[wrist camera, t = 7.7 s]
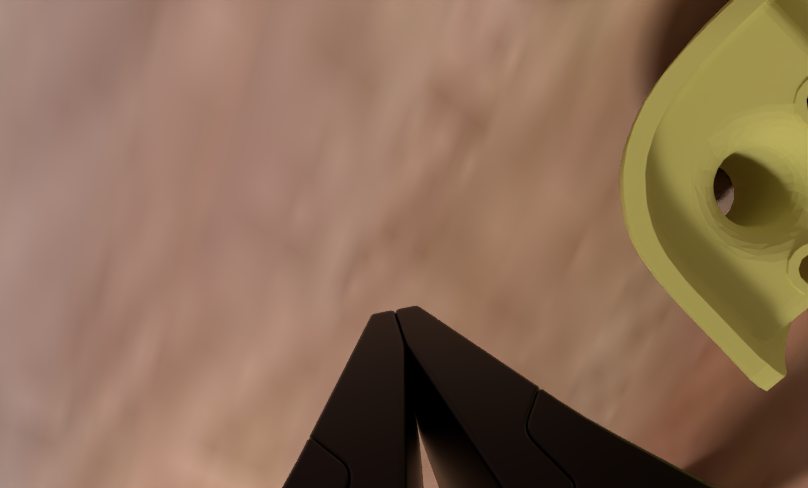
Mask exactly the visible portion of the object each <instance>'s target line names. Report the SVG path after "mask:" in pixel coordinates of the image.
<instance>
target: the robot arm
mask: <svg viewBox="0 0 808 488" xmlns="http://www.w3.org/2000/svg"><path fill="white" fill-rule="evenodd" d="M417 425H418V427H417ZM418 429H419V433H420V436H421V439H422V442H423V445H424V448H425V450H426V453H427V456H428V458H429V461H430V464H431V467H432V469H433V472H434V475H435V478H436V480H437V483H438V486H439V488H716V487H714V486H712V485H710V484H708V483H706V482H704V481H703V480H701V479H699V478H697V477H695V476H693V475H691V474H689V473H688V472H686V471H684V470H682V469H680V468H678V467H676V466H674V465H672V464H671V463H669V462H667V461H665V460H663V459H661V458H659V457H657V456H656V455H654V454H652V453H650V452H648V451H646V450H644V449H642V448H641V447H639V446H637V445H635V444H633V443H631V442H629V441H627V440H626V439H624V438H622V437H620V436H618V435H616V434H615V433H613V432H611V431H609V430H607V429H606V428H604V427H602V426H600V425H599V424H597V423H595V422H593V421H591V420H590V419H588V418H586V417H585V416H583V415H581V414H580V413H578V412H577V411H575V410H573V409H572V408H570V407H569V406H567V405H566V404H564V403H562V402H561V401H559V400H558V399H556V398H555V397H553V396H552V395H550V394H549V393H547V392H546V391H544V390H543V389H540V390H539V387H538V386H537V385H535V384H534V383H532V382H531V381H529V380H528V379H526V378H525V377H523V376H522V375H520V374H519V373H517V372H516V371H514V370H513V369H511V368H510V367H508V366H507V365H505V364H504V363H502V362H501V361H499V360H498V359H496V358H495V357H493V356H492V355H490V354H489V353H487V352H486V351H484V350H483V349H481V348H480V347H478V346H477V345H475V344H474V343H472V342H471V341H469V340H468V339H466V338H465V337H464V336H462V335H461V334H459V333H458V332H456V331H455V330H453V329H452V328H450V327H449V326H447V325H446V324H444V323H443V322H441V321H440V320H438V319H437V318H435V317H434V316H432V315H431V314H429V313H428V312H426V311H425V310H423V309H422V308H420V307H419V306H412V307H407V308H401V309H398V310H397V311H396V314H395V312H394V311H386V312H381V313H376V314H373V315H372V316H371V317H370V319H369V321H368V323H367V325H366V327H365V329H364V331H363V333H362V335H361V337H360V339H359V341H358V343H357V345H356V347H355V349H354V350H353V352H352V354H351V356H350V358H349V360H348V362H347V364H346V366H345V368H344V370H343V372H342V374H341V376H340V378H339V380H338V382H337V384H336V386H335V388H334V390H333V392H332V394H331V396H330V398H329V400H328V402H327V404H326V405H325V407H324V409H323V411H322V413H321V415H320V417H319V419H318V421H317V423H316V425H315V427H314V429H313V431H312V433H311V435H310V439H309V440H307V442H306V444H305V446H304V448H303V450H302V452H301V454H300V456H299V458H298V460H297V462H296V464H295V465H294V467H293V469H292V471H291V473H290V474H289V476H288V478H287V480H286V482H285V484H284V485H283V487H282V488H424V486H423V475H422V464H421V452H420V442H419V434H418Z"/></svg>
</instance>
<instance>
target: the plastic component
mask: <svg viewBox="0 0 808 488" xmlns="http://www.w3.org/2000/svg"><path fill="white" fill-rule="evenodd" d="M807 97H808V0H730V1H729V2H727V3H726V4H725V5H724V6H723V7H722V8H721V9H720V10H719V11H718V12H717V13H716V14H715V15H714V16H713V17H712V18H711V19H710V20H709V21H708V22H707V23H706V24H705V25H704V26H703V27H702V28H701V29H700V30H699V31H698V33H697V34H696V35H695V36H694V37H693V38H692V39H691V40H690V42H689V43H688V44H687V45H686V46H685V48H684V49H683V50H682V51H681V52H680V53H679V55H678V56H677V57H676V58H675V59H674V61H673V62H672V63H671V64H670V65H669V67H668V68H667V69H666V70H665V72H664V73H663V74H662V76H661V77H660V78H659V80H658V81H657V83H656V84H655V86H654V87H653V89H652V90H651V92H650V93H649V95H648V96H647V98H646V99H645V101H644V103H643V105H642V106H641V108H640V110H639V112H638V114H637V116H636V118H635V121H634V123H633V125H632V127H631V130H630V133H629V135H628V138H627V141H626V144H625V147H624V151H623V155H622V159H621V165H620V173H619V190H620V200H621V207H622V212H623V217H624V221H625V226H626V228H627V231H628V234H629V236H630V239H631V241H632V243H633V245H634V247H635V249H636V251H637V252H638V254H639V255H640V257H641V258H642V260H643V261H644V263H645V264H646V265H647V267H648V268H649V270H650V271H651V272H652V274H653V275H654V276H655V278H656V279H657V280H658V282H659V283H660V284H661V285H662V286H663V288H664V289H665V290H666V291H667V292H668V293H669V295H670V296H671V297H672V298H673V299H674V300H675V301H676V302H677V303H678V304H679V305H680V307H681V308H682V309H683V310H684V311H685V312H686V313H687V314H688V315H689V316H690V317H691V318H692V319H693V320H694V321H695V322H696V323H697V324H698V325H699V326H700V327H701V328H702V329H703V330H704V331H705V332H706V333H707V335H708V336H709V337H710V338H711V339H712V340H713V341H714V342H715V343H716V344H717V345H718V346H719V347H720V348H721V349H722V350H723V351H724V352H725V353H726V354H727V355H728V356H729V357H730V359H731V360H732V361H733V362H734V363H735V364H736V365H737V366H738V367H739V368H740V369H741V370H742V371H743V372H744V373H745V375H746V376H747V377H748V378H749V379H750V380H751V381H752V382H754V383H755V384H756V385H757V386H758V387H759V388H761V389H763V390H765V391H768V390H769V389H770V388H771V387H773V386H774V385H775V384H776V383H778V382H779V381H780V380H781V379H782V378H784V377H785V376H786V374H787V370H786V364H785V344H786V338H787V332H788V329H789V327H790V324H791V321H792V320H794V319H795V318H796V317H797V316H799V315H800V314H801V313H802V312H803V311H805V310H806V309H807V308H808V108H807V101H806V99H807ZM718 167H720V168H721V169H723V170H724V171H725V172H726V173H727V175H728V176H729V177H730V179H731V182H732V184H733V187H734V201H733V204H732V206H731V209H730V211H729V212H728V213H727V214H726V215H724V214H723V213H722V212H721V211H720V209H719V207H718V205H717V203H716V200H715V197H714V189H713V185H714V178H715V175H716V172H717V169H718Z"/></svg>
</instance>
